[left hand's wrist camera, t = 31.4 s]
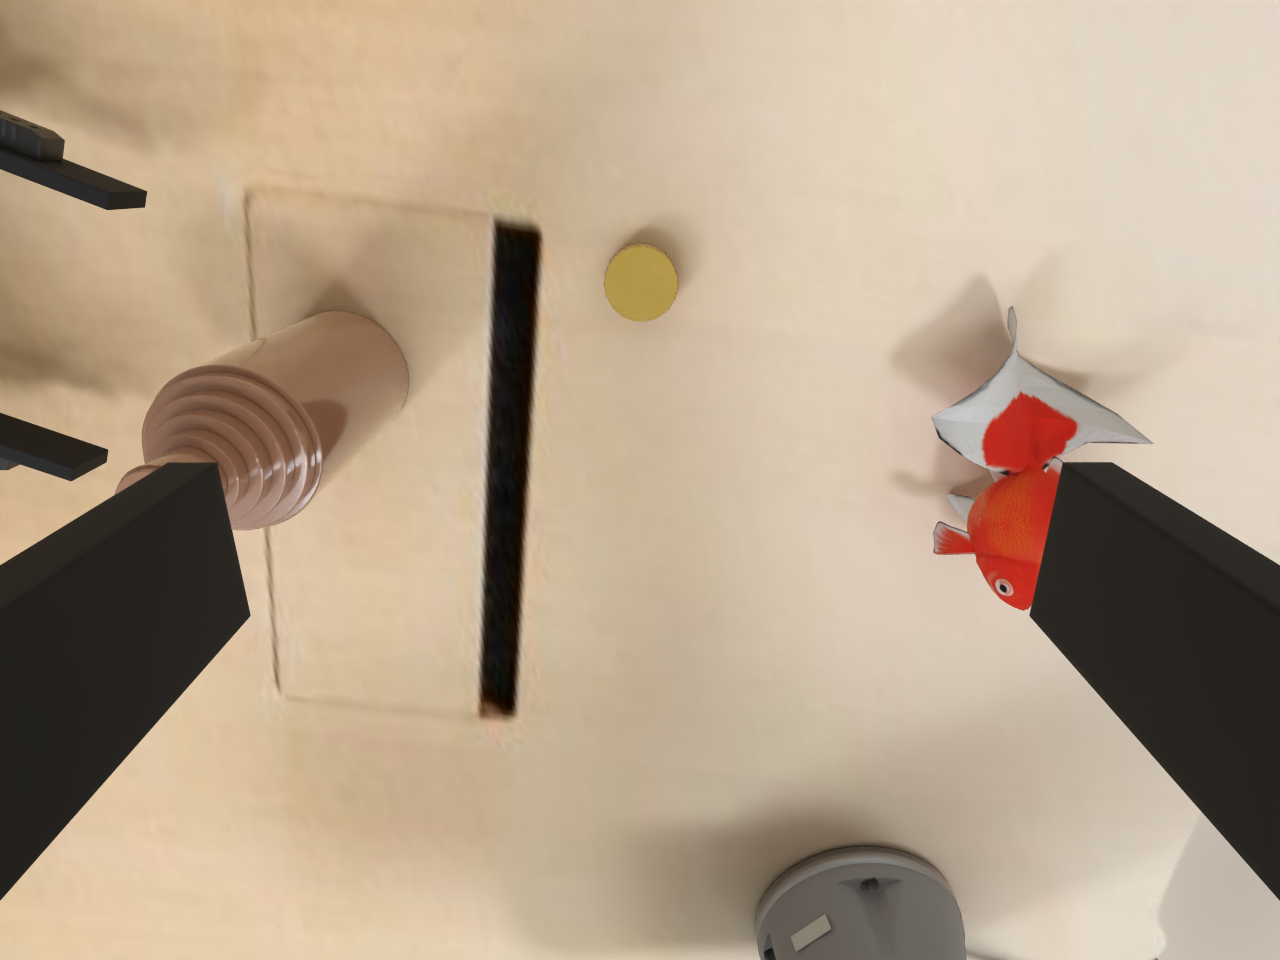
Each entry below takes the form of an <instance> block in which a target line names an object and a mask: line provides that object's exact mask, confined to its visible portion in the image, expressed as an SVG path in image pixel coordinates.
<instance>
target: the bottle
mask: <svg viewBox="0 0 1280 960" xmlns="http://www.w3.org/2000/svg"><path fill="white" fill-rule="evenodd" d="M408 387H409V376H408V369H407V365H406V362H405V359H404V357H403V354H402V352H401V350H400V349H399V347H398V345H397V344H396V342H395V341H394V340H393V338H392V337H391V336H390V335H389V334H388V333H387V332H386V331H385V330H384V329H383V328H381V327H380V326H379V325H377V324H376V323H374V322H373V321H371V320H369V319H367V318H365V317H363V316H360V315H358V314H354V313H350V312H344V311H328V312H322V313H319V314H315V315H313V316H311V317H308V318H306V319H304V320H302V321H299V322H297V323H295V324H292V325H290V326H288V327H285V328H283V329H281V330H279V331H276V332H274V333H272V334H269V335H267V336H265V337H263V338H260V339H258V340H256V341H253V342H251V343H249V344H246V345H244V346H242V347H240V348H237V349H235V350H233V351H230V352H228V353H226V354H224V355H221V356H219V357H217V358H214V359H212V360H210V361H208V362H205V363H203V364H201V365H198V366H196V367H194V368H191V369H189V370H187V371H185V372H183V373H181V374H179V375H177V376H176V377H174V378H173V379H171V380H170V381H169V382H168V383H167V384H166V385H165V386H164V387H163V388H162V389H161V390H160V392H159V393H158V394H157V396H156V398H155V400H154V401H153V403H152V405H151V407H150V408H149V410H148V412H147V414H146V417H145V420H144V424H143V429H142V448H143V454H144V461H145V465H141V466H138V467H136V468H134V469H132V470H130V471H129V472H127V473H126V475H125V476H124V477H123V478H122V479H121V481H120V483H119V484H118V486H117V489H116V493H115V495H116V494H117V493H119V492H121V491H122V490H124V489H125V488H127V487H129V486H130V485H132V484H134V483H135V482H137V481H139V480H140V479H142V478H143V477H145V476H147V475H148V474H150V473H152V472H153V471H155V470H156V469H158V468H160V467H161V466H163V465H165V464H166V463H168V462H217V463H218V468H219V473H220V477H221V482H222V486H223V491H224V496H225V500H226V505H227V509H228V514H229V519H230V523H231V528H232V530H252V529H259V528H262V527H268V526H272V525H276V524H279V523H282V522H284V521H286V520H289V519H290V518H292V517H293V516H295V515H297V514H298V513H299V512H300V511H302V510H303V509H304V508H305V507H306V506H307V505H308V504H309V503H310V502H311V501H312V500H313V499H314V498H315V497H316V496H317V495H318V494H319V493H320V492H321V491H322V490H323V489H324V488H325V487H326V486H327V485H328V484H329V483H330V482H331V481H332V480H333V479H334V478H335V477H336V476H337V475H338V474H339V473H340V472H341V471H342V470H343V469H344V468H345V467H346V466H347V465H348V464H349V463H350V462H351V461H352V460H353V459H354V458H355V457H356V456H357V455H358V454H359V453H360V452H361V451H362V450H363V449H364V448H365V447H366V446H367V445H368V444H369V443H370V442H371V441H372V440H373V439H374V438H375V437H376V436H377V435H378V434H379V433H380V432H381V431H382V430H383V429H384V428H385V427H386V426H387V425H388V424H389V423H390V422H391V421H392V420H393V419H394V418H395V417H396V416H397V415H398V413H399V412H400V410H401V409H402V407H403V405H404V403H405V400H406V397H407V393H408Z"/></svg>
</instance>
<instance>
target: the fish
mask: <svg viewBox="0 0 1280 960" xmlns="http://www.w3.org/2000/svg"><path fill="white" fill-rule="evenodd" d="M1016 326H1017V320H1016V316H1015V312H1014V309H1013V306H1011V307H1010V308H1009V311H1008V330H1009V333H1010V336H1011V339H1012V343H1013V348H1012V353H1011V355H1010V356H1009V358H1008V359H1007V360H1006V362H1005V363H1004V364H1003V365H1002V367H1001V368H1000V369H999V371H998V372H997V373H996V374H995V375H994V376H993V377H991V378H990V379H989V380H988V381H987V382H986V383H984V384H983V385H982V386H981V387H980V388H979V389H977V390H976V391H975V392H973V393H972V394H970V395H968V396H967V397H965V398H964V399H962V400H960V401H959V402H957V403H955V404H954V405H952V406H950V407H949V408H947V409H945V410H943V411H941V412H940V413H938V414H936V415H934V416H932V417H931V418H932V420H933V423H934V426H935V428H936V431H937V434H938V436H939V438H940V439H941V440H942V441H944V442H945V443H946V444H948V445H949V446H950V447H951V448H953V449H954V450H955V451H957V452H958V453H959V454H960V455H962V456H964V457H965V458H967V459H969V460H970V461H972V462H974V463H976V464H978V465H980V466H983V467H985V468H987V469H988V470H989V471H990V473H991V475H992V477H993V480H994V483H993V484H991V485H990V486H988V487H987V488H986V489H985V490H983V491H982V493H981V494H980V495H979V496H978V497H977V499H976V500H975V501H974V499H972V498H971V497H967V496H960V495H955V494H948V495H947V499H948V501H949V502H950V504H951V505H952V506H953V508H954V509H955V510H956V511H957V512H958V514H959V515H960V517H961V518H962V520H963V521H964V522H965V523H966V524H967V531H968V532H965V531H963V530H960V529H957V528H954V527H951V526H949V525H947V524H945V523H943V522H941V521H940V522H938V523H937V525H936V527H935V530H934V532H933V535H934V553H936V554H943V555H955V554H975V555H976V562H977V564H978V566H979V568H980V570H981V571H982V573H983V576H984V577H985V579H986V581H987V583H988V584H989V586H990V587H991V589H992V590H993V592H994V593H995V594H996V595H997V596H998V597H999V598H1000V599H1002V600H1003V601H1004V602H1006V603H1007V604H1009V605H1011V606H1013V607H1015V608H1017V609H1020V610H1025V609H1029V607H1030V606H1031V605H1032V602H1033V597H1034V592H1035V588H1036V583H1037V579H1038V574H1039V569H1040V565H1041V560H1042V555H1043V551H1044V546H1045V542H1046V537H1047V532H1048V528H1049V523H1050V519H1051V514H1052V509H1053V505H1054V500H1055V496H1056V491H1057V486H1058V482H1059V477H1060V473H1061V468H1062V463H1063V461H1061V460H1060V459H1059V457H1060V456H1061V455H1063V454H1066V453H1068V452H1070V451H1073V450H1075V449H1077V448H1079V447H1080V446H1082V445H1084V444H1086V443H1134V444H1154V443H1152V442H1151V441H1150V440H1149V439H1147V438H1146V437H1145V436H1144V435H1143V434H1141V433H1140V432H1139V431H1138V430H1136V429H1135V428H1134V427H1133V426H1131V425H1130V424H1129V423H1128V422H1127V421H1125V420H1124V419H1123V418H1122V417H1120V416H1119V415H1118V414H1117V413H1115V412H1113V411H1111V410H1110V409H1108V408H1106V407H1104V406H1103V405H1101V404H1099V403H1097V402H1096V401H1094V400H1092V399H1090V398H1088V397H1087V396H1085V395H1083V394H1081V393H1080V392H1078V391H1076V390H1074V389H1073V388H1071V387H1069V386H1067V385H1066V384H1064V383H1062V382H1060V381H1058V380H1057V379H1055V378H1053V377H1051V376H1049V375H1047V374H1046V373H1044V372H1042V371H1041V370H1039V369H1038V368H1036V367H1035V366H1033V365H1032V364H1031V363H1029V362H1028V361H1026V360H1025V359H1023V358H1022V357H1020V356H1019V354H1018V351H1017V342H1016ZM1047 466H1049V467H1048V470H1047V473H1045V472H1044V471H1043V469H1045V468H1046V467H1047Z"/></svg>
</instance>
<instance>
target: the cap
mask: <svg viewBox="0 0 1280 960" xmlns="http://www.w3.org/2000/svg"><path fill="white" fill-rule="evenodd" d="M674 267H675V266H674V263H673V262H671V260H670V259H669V257H668V254H667V253H666V254H665V253H664V252H663V251H662V250H660V249H659V247H654V246H652V245H649V243H647V244H638V243H636V244H634V245H630V246H628V247H627V246H626V247H625V248H624V249H622V250H621V251H619V252H617V253H616V255H615V256H614V258H613V259H612V260H610V262H609V266H608V269H607V270H606V272H605V275H606V276H605V282H604V286H605V292H606V297H607V299H608V301H609V303H610V305H611V306H612V307H613V309H614V310H615V311H616V312H617V313H619V314H620V315H621V316H623V317H625V318H627V319H630V320H633V321H649V320H653V319H655V318H657V317H659V316H661V315H662V314H664V313H665V312H666V311H667V310H668V309H669V307H670V306H671V305H672V303H673V301H674V300H675V296H676V293H677V289H678V282H677V278H678V275H677V273H676V272H675V269H674Z"/></svg>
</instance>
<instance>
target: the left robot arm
mask: <svg viewBox="0 0 1280 960" xmlns="http://www.w3.org/2000/svg"><path fill="white" fill-rule="evenodd" d="M250 616H251V615H250V611H249V606H248V602H247V597H246V592H245V588H244V583H243V579H242V574H241V569H240V565H239V560H238V555H237V551H236V546H235V542H234V537H233V532H232V528H231V523H230V519H229V514H228V509H227V505H226V500H225V496H224V491H223V486H222V482H221V477H220V473H219V468H218V463H217V462H168V463H166V464H165V465H163V466H161V467H160V468H158V469H156V470H155V471H153V472H152V473H150V474H148V475H147V476H145V477H143V478H142V479H140V480H139V481H137V482H135V483H134V484H132V485H130V486H129V487H127V488H125V489H124V490H122V491H121V492H119V493H117V494H116V495H114V496H112V497H111V498H109V499H108V500H106V501H104V502H103V503H101V504H99V505H98V506H96V507H95V508H93V509H91V510H90V511H88V512H86V513H85V514H83V515H81V516H80V517H78V518H77V519H75V520H73V521H72V522H70V523H68V524H67V525H65V526H64V527H62V528H60V529H59V530H57V531H55V532H54V533H52V534H51V535H49V536H47V537H46V538H44V539H42V540H41V541H39V542H37V543H36V544H34V545H33V546H31V547H29V548H28V549H26V550H24V551H23V552H21V553H20V554H18V555H16V556H15V557H13V558H11V559H10V560H8V561H7V562H5V563H3V564H2V565H0V900H1V899H2V898H3V897H4V896H5V895H6V893H7V892H8V891H9V890H10V889H11V888H12V887H13V885H14V884H15V883H16V882H17V881H18V880H19V879H20V877H21V876H22V875H23V874H24V873H25V872H26V871H27V870H28V868H29V867H30V866H31V865H32V864H33V863H34V862H35V860H36V859H37V858H38V857H39V856H40V855H41V854H42V852H43V851H44V850H45V849H46V848H47V847H48V846H49V844H50V843H51V842H52V841H53V840H54V839H55V838H56V837H57V835H58V834H59V833H60V832H61V831H62V830H63V829H64V827H65V826H66V825H67V824H68V823H69V822H70V821H71V819H72V818H73V817H74V816H75V815H76V814H77V813H78V812H79V810H80V809H81V808H82V807H83V806H84V805H85V804H86V802H87V801H88V800H89V799H90V798H91V797H92V796H93V794H94V793H95V792H96V791H97V790H98V789H99V788H100V786H101V785H102V784H103V783H104V782H105V781H106V780H107V779H108V777H109V776H110V775H111V774H112V773H113V772H114V771H115V769H116V768H117V767H118V766H119V765H120V764H121V763H122V761H123V760H124V759H125V758H126V757H127V756H128V755H129V753H130V752H131V751H132V750H133V749H134V748H135V747H136V746H137V744H138V743H139V742H140V741H141V740H142V739H143V738H144V736H145V735H146V734H147V733H148V732H149V731H150V730H151V728H152V727H153V726H154V725H155V724H156V723H157V722H158V721H159V719H160V718H161V717H162V716H163V715H164V714H165V713H166V711H167V710H168V709H169V708H170V707H171V706H172V705H173V703H174V702H175V701H176V700H177V699H178V698H179V697H180V695H181V694H182V693H183V692H184V691H185V690H186V689H187V688H188V686H189V685H190V684H191V683H192V682H193V681H194V680H195V678H196V677H197V676H198V675H199V674H200V673H201V672H202V670H203V669H204V668H205V667H206V666H207V665H208V664H209V662H210V661H211V660H212V659H213V658H214V657H215V656H216V655H217V653H218V652H219V651H220V650H221V649H222V648H223V647H224V645H225V644H226V643H227V642H228V641H229V640H230V639H231V637H232V636H233V635H234V634H235V633H236V632H237V631H238V630H239V628H240V627H241V626H242V625H243V624H244V623H245V622H246V620H247V619H248V618H249V617H250ZM1029 616H1030V617H1031V618H1032V619H1033V620H1034V622H1035V623H1036V624H1037V625H1038V626H1039V627H1040V628H1041V630H1042V631H1043V632H1044V633H1045V634H1046V635H1047V636H1048V637H1049V639H1050V640H1051V641H1052V642H1053V643H1054V644H1055V645H1056V647H1057V648H1058V649H1059V650H1060V651H1061V652H1062V653H1063V655H1064V656H1065V657H1066V658H1067V659H1068V660H1069V661H1070V662H1071V664H1072V665H1073V666H1074V667H1075V668H1076V669H1077V670H1078V672H1079V673H1080V674H1081V675H1082V676H1083V677H1084V678H1085V680H1086V681H1087V682H1088V683H1089V684H1090V685H1091V686H1092V688H1093V689H1094V690H1095V691H1096V692H1097V693H1098V694H1099V695H1100V697H1101V698H1102V699H1103V700H1104V701H1105V702H1106V703H1107V705H1108V706H1109V707H1110V708H1111V709H1112V710H1113V711H1114V713H1115V714H1116V715H1117V716H1118V717H1119V718H1120V719H1121V721H1122V722H1123V723H1124V724H1125V725H1126V726H1127V727H1128V728H1129V730H1130V731H1131V732H1132V733H1133V734H1134V735H1135V736H1136V738H1137V739H1138V740H1139V741H1140V742H1141V743H1142V744H1143V746H1144V747H1145V748H1146V749H1147V750H1148V751H1149V752H1150V753H1151V755H1152V756H1153V757H1154V758H1155V759H1156V760H1157V761H1158V763H1159V764H1160V765H1161V766H1162V767H1163V768H1164V769H1165V771H1166V772H1167V773H1168V774H1169V775H1170V776H1171V777H1172V779H1173V780H1174V781H1175V782H1176V783H1177V784H1178V785H1179V786H1180V788H1181V789H1182V790H1183V791H1184V792H1185V793H1186V794H1187V796H1188V797H1189V798H1190V799H1191V800H1192V801H1193V802H1194V804H1195V805H1196V806H1197V807H1198V808H1199V809H1200V810H1201V812H1202V813H1203V814H1204V815H1205V816H1206V817H1207V818H1208V819H1209V821H1210V822H1211V823H1212V824H1213V825H1214V826H1215V827H1216V829H1217V830H1218V831H1219V832H1220V833H1221V834H1222V835H1223V837H1224V838H1225V839H1226V840H1227V841H1228V842H1229V843H1230V844H1231V846H1232V847H1233V848H1234V849H1235V850H1236V851H1237V852H1238V854H1239V855H1240V856H1241V857H1242V858H1243V859H1244V860H1245V862H1246V863H1247V864H1248V865H1249V866H1250V867H1251V868H1252V870H1253V871H1254V872H1255V873H1256V874H1257V875H1258V876H1259V877H1260V879H1261V880H1262V881H1263V882H1264V883H1265V884H1266V885H1267V886H1268V888H1269V889H1270V890H1271V891H1272V892H1273V893H1274V895H1275V896H1276V897H1277V898H1278V899H1279V900H1280V565H1278V564H1277V563H1275V562H1273V561H1272V560H1270V559H1269V558H1267V557H1265V556H1264V555H1262V554H1260V553H1259V552H1257V551H1256V550H1254V549H1252V548H1251V547H1249V546H1247V545H1246V544H1244V543H1243V542H1241V541H1239V540H1238V539H1236V538H1234V537H1233V536H1231V535H1229V534H1228V533H1226V532H1225V531H1223V530H1221V529H1220V528H1218V527H1216V526H1215V525H1213V524H1212V523H1210V522H1208V521H1207V520H1205V519H1203V518H1202V517H1200V516H1199V515H1197V514H1195V513H1194V512H1192V511H1190V510H1189V509H1187V508H1185V507H1184V506H1182V505H1181V504H1179V503H1177V502H1176V501H1174V500H1172V499H1171V498H1169V497H1168V496H1166V495H1164V494H1163V493H1161V492H1159V491H1158V490H1156V489H1155V488H1153V487H1151V486H1150V485H1148V484H1146V483H1145V482H1143V481H1141V480H1140V479H1138V478H1137V477H1135V476H1133V475H1132V474H1130V473H1128V472H1127V471H1125V470H1124V469H1122V468H1120V467H1119V466H1117V465H1115V464H1114V463H1112V462H1063V463H1062V468H1061V473H1060V477H1059V482H1058V486H1057V491H1056V496H1055V500H1054V505H1053V509H1052V514H1051V519H1050V523H1049V528H1048V532H1047V537H1046V542H1045V546H1044V551H1043V555H1042V560H1041V565H1040V569H1039V574H1038V579H1037V583H1036V588H1035V592H1034V597H1033V602H1032V606H1031V611H1030V615H1029ZM755 930H756V937H757V944H758V950H759V955H760V958H761V960H966V950H965V934H964V926H963V922H962V917H961V913H960V910H959V907H958V905H957V902H956V900H955V898H954V895H953V893H952V891H951V889H950V887H949V885H948V883H947V882H946V880H945V879H944V878H943V877H942V875H941V874H940V873H939V872H938V871H937V870H936V869H934V868H933V867H932V866H931V865H929V864H928V863H926V862H925V861H923V860H921V859H919V858H917V857H915V856H913V855H911V854H908V853H905V852H902V851H898V850H894V849H889V848H883V847H872V846H860V847H848V848H841V849H836V850H832V851H828V852H824V853H821V854H818V855H816V856H813V857H811V858H808V859H806V860H804V861H802V862H800V863H799V864H797V865H795V866H793V867H792V868H790V869H789V870H788V871H786V872H785V873H784V874H782V875H781V876H780V877H779V878H778V879H777V880H776V881H775V882H774V883H773V884H772V885H771V886H770V888H769V889H768V890H767V892H766V893H765V895H764V896H763V898H762V900H761V902H760V904H759V907H758V910H757V914H756V921H755ZM1154 960H1158V959H1157V958H1156V959H1154Z"/></svg>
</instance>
